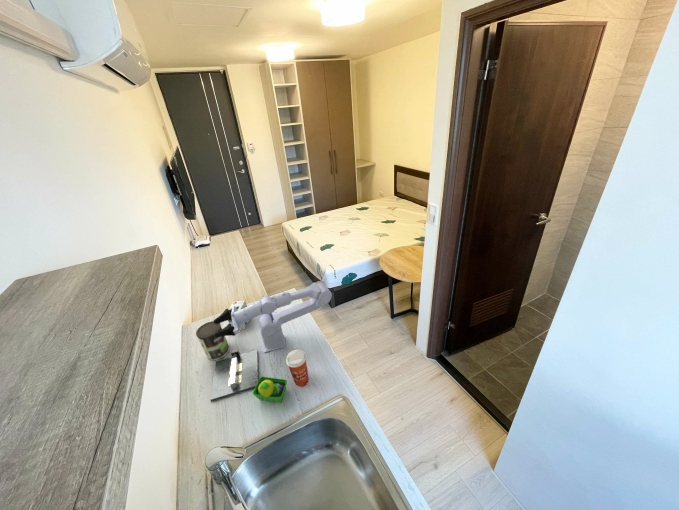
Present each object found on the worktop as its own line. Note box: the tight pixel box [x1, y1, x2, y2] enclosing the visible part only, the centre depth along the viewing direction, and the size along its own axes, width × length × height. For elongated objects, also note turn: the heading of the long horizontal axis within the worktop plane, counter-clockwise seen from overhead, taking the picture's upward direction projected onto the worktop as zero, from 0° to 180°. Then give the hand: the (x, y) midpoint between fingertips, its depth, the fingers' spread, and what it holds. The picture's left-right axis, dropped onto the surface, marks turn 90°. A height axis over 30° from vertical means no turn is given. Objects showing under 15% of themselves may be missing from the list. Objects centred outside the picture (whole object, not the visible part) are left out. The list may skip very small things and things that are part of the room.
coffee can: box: [195, 320, 231, 361], centre depth 124 cm, size 10×10×14 cm
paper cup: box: [285, 348, 309, 388], centre depth 106 cm, size 8×8×14 cm
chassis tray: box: [209, 348, 259, 402], centre depth 114 cm, size 18×19×5 cm
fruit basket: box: [252, 376, 288, 404], centre depth 102 cm, size 11×9×11 cm
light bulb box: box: [227, 300, 249, 331], centre depth 140 cm, size 11×7×11 cm, turn 179°
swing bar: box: [230, 354, 239, 389], centre depth 113 cm, size 2×16×3 cm, turn 16°
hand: (215, 328), depth 113 cm, fingers open, 7 cm apart
